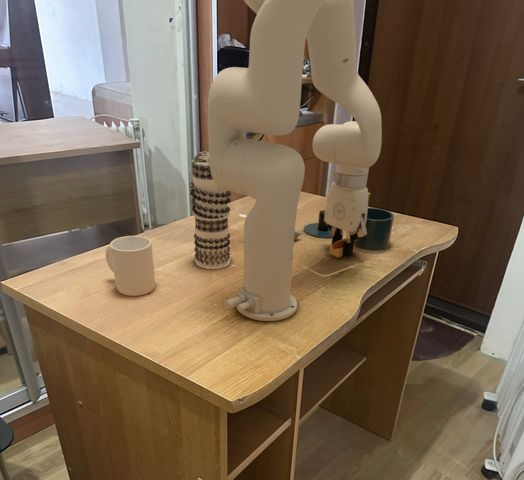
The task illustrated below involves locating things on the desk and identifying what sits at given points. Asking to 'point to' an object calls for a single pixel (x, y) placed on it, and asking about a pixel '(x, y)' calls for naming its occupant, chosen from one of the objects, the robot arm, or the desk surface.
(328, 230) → the pot lid
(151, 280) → the mug
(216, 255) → the decorative candle
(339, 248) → the hot dog
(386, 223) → the pot
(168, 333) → the desk surface
